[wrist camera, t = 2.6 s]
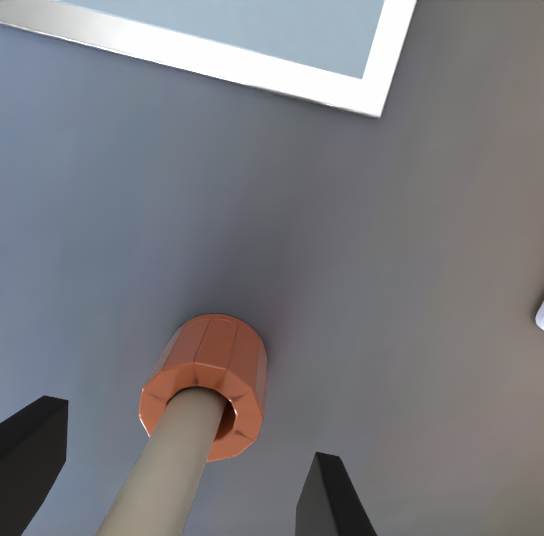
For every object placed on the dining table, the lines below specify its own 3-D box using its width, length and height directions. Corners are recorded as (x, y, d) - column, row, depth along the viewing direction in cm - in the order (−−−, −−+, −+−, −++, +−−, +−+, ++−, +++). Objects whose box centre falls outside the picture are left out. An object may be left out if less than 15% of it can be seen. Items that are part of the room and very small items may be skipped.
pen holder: (277, 325, 13) (274, 379, 10) (255, 405, 14) (248, 472, 12) (176, 303, 13) (145, 351, 10) (163, 386, 14) (133, 449, 11)
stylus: (243, 350, 13) (2, 1041, 3) (234, 387, 14) (7, 1072, 4) (197, 338, 13) (-183, 983, 3) (190, 376, 14) (-150, 1021, 4)
